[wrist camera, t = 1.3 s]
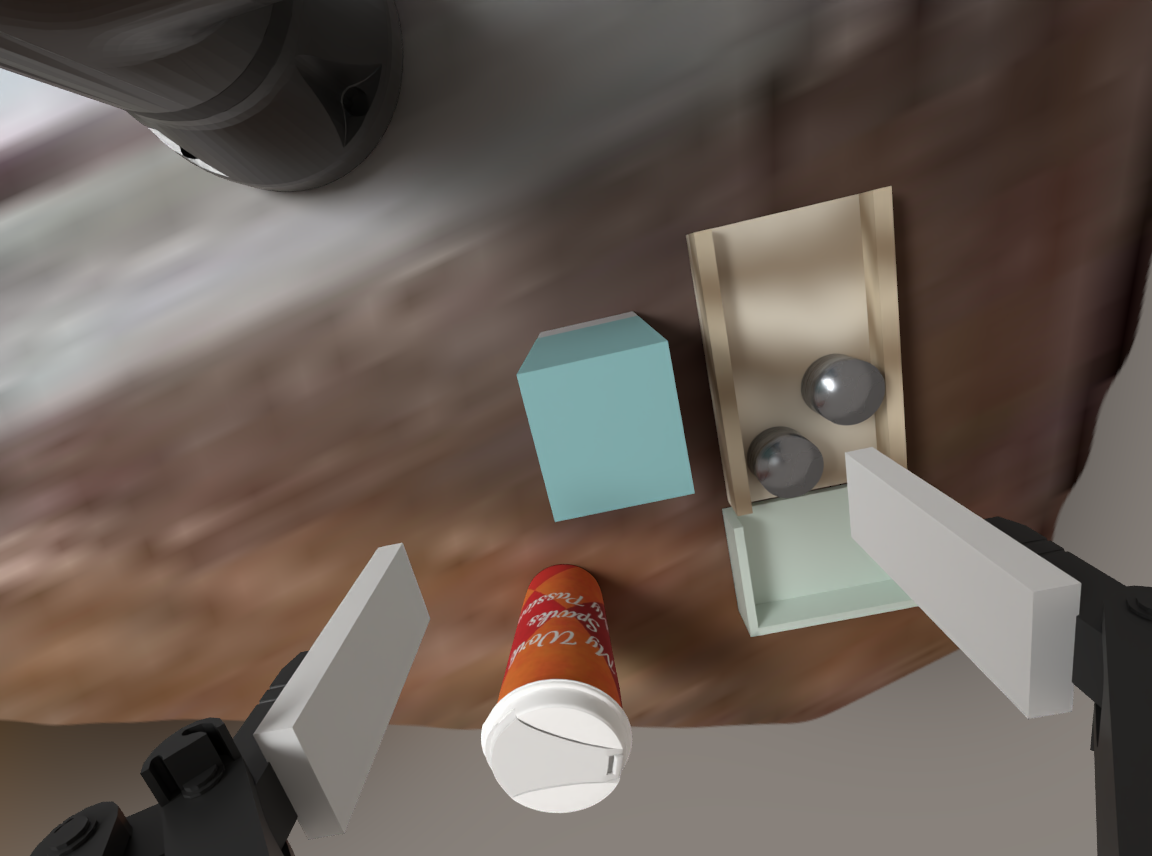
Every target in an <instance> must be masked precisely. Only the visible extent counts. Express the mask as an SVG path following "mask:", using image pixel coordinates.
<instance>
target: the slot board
mask: <svg viewBox="0 0 1152 856" xmlns="http://www.w3.org/2000/svg"><path fill="white" fill-rule="evenodd" d="M686 240H687V246H688V253H689V259H690V265H691V271H692V278H693V284H694V290H695V297H696V303H697V309H698V315H699V322H700V328H701V334H702V341H703V347H704V353H705V359H706V366H707V372H708V378H709V384H710V391H711V397H712V403H713V410H714V416H715V422H716V428H717V435H718V441H719V447H720V454H721V460H722V466H723V472H724V479H725V485H726V491H727V498H728V502H729V503H730V505H731V507H732V508H733V510H734V511H735V513H736V514H737V516H742V515H747V514H752V513H753V510H752V504H751V502H754V501H758V500H763V499H768V498H773V497H777V496H775V495H773V494H771V493H770V492H768V491H767V490H766V489H765V488H764V486H763V485H762V484H761V483H760V482H759V481H758V479H757V478H756V477H755V476H754V475H753V473H752V472H751V471H750V469H749V466H748V463H747V452H748V449H749V446H750V444H751V442H752V441H753V439H754V438H755V437H756V436H757V435H758V434H760V433H761V432H762V431H764V430H766V429H769V428H772V427H777V426H783V427H789V428H792V429H794V430H796V431H797V432H798V433H800V434H801V435H802V436H804V437H805V438H806V439H808V440H809V441H810V442H812V443H813V444H814V445H815V446H816V447H817V448H818V449H819V450H820V452H821V454H822V457H823V461H824V468H823V473H822V476H821V478H820V480H819V481H818V483H817V484H816V485H815V486H814V488H812V489H811V490H813V489H818V488H823V487H828V486H833V485H838V484H843V483H847V474H846V461H845V452H850V451H854V450H859V449H864V448H869V447H873V448H875V449H876V450H878V451H879V452H881V453H882V454H884V455H885V456H887V457H889V458H890V459H892V460H893V461H895V462H896V463H898V464H899V465H901V466H902V467H904V468H905V469H907V456H906V438H905V420H904V402H903V384H902V366H901V348H900V330H899V312H898V294H897V276H896V258H895V240H894V222H893V204H892V186H889V187H884V188H880V189H876V190H872V191H868V192H864V193H860V194H856V195H852V196H848V197H844V198H839V199H835V200H831V201H827V202H823V203H818V204H814V205H810V206H806V207H801V208H797V209H793V210H789V211H785V212H780V213H776V214H772V215H768V216H764V217H759V218H755V219H751V220H747V221H742V222H738V223H734V224H730V225H726V226H721V227H717V228H713V229H707V230H703V231H699V232H695V233H691V234H688V235H686ZM837 353H838V354H844V355H848V356H851V357H854V358H857V359H860V360H863V361H866V362H868V363H871V364H872V365H874V366H875V367H876V368H877V369H878V370H879V371H880V373H881V374H882V376H883V378H884V382H885V394H884V398H883V401H882V403H881V405H880V407H879V408H878V410H877V411H876V412H875V413H874V414H873V415H872V416H871V417H870V418H868V419H867V420H865V421H863V422H861V423H858V424H855V425H846V426H845V425H838V424H835V423H833V422H831V421H829V420H827V419H826V418H824V417H823V416H821V415H819V414H818V413H816V412H814V411H813V410H811V409H810V408H809V407H808V406H807V405H806V403H805V402H804V400H803V398H802V395H801V382H802V378H803V375H804V373H805V372H806V370H807V369H808V367H809V366H810V365H811V364H812V363H813V362H814V361H816V360H817V359H819V358H821V357H823V356H825V355H828V354H837Z"/></svg>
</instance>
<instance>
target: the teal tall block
mask: <svg viewBox="0 0 1152 856" xmlns="http://www.w3.org/2000/svg"><path fill="white" fill-rule="evenodd" d="M517 379H518V382H519V386H520V390H521V394H522V398H523V402H524V405H525V409H526V413H527V417H528V421H529V424H530V428H531V432H532V436H533V440H534V444H535V447H536V451H537V455H538V459H539V463H540V466H541V470H542V474H543V478H544V482H545V486H546V489H547V493H548V497H549V501H550V505H551V509H552V512H553V516H554V520H555V522H557V521H562V520H567V519H572V518H577V517H581V516H586V515H591V514H596V513H601V512H606V511H611V510H616V509H621V508H625V507H630V506H635V505H640V504H645V503H650V502H655V501H660V500H665V499H670V498H674V497H679V496H684V495H689V494H694V493H695V492H694V486H693V481H692V475H691V469H690V464H689V458H688V453H687V447H686V441H685V436H684V430H683V424H682V419H681V413H680V407H679V402H678V396H677V391H676V385H675V379H674V374H673V368H672V362H671V357H670V351H669V345H668V341H667V340H666V339H665V338H664V337H662V336H661V335H660V334H659V333H658V332H657V331H655V330H654V329H653V328H652V327H651V326H649V325H648V324H647V323H646V322H645V321H644V320H642V319H641V318H640V317H639V316H638V315H636V314H635V313H634V312H633V311H632V312H628V313H623V314H619V315H615V316H610V317H606V318H602V319H597V320H593V321H588V322H584V323H580V324H575V325H571V326H567V327H562V328H558V329H554V330H549V331H545V332H541V333H540V334H539V336H538V338H537V340H536V341H535V343H534V345H533V347H532V348H531V350H530V352H529V354H528V355H527V357H526V359H525V361H524V363H523V364H522V366H521V368H520V370H519V371H518V373H517Z"/></svg>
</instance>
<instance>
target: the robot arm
mask: <svg viewBox="0 0 1152 856" xmlns="http://www.w3.org/2000/svg"><path fill="white" fill-rule="evenodd" d="M0 68H2V69H5V70H8V71H11V72H14V73H17V74H20V75H23V76H26V77H28V78H31V79H34V80H37V81H40V82H43V83H46V84H49V85H52V86H55V87H58V88H61V89H64V90H67V91H70V92H73V93H76V94H79V95H82V96H85V97H88V98H91V99H94V100H96V101H99V102H102V103H105V104H109V105H112V106H114V107H117V108H120V109H123V110H125V111H127V112H128V113H129V114H130V115H131V116H133V117H134V118H135V119H136V120H137V121H139V122H140V123H141V124H143V125H144V126H147V127H148V128H149V129H150V130H151V131H152V132H153V133H154V134H155V135H156V136H157V137H158V138H159V139H160V140H162V141H163V142H164V143H165V144H166V145H167V146H169V147H170V148H171V149H172V150H174V151H175V152H176V153H178V154H179V155H180V156H182V157H183V158H185V159H186V160H188V161H189V162H191V163H193V164H194V165H196V166H198V167H200V168H202V169H204V170H206V171H207V172H209V173H212V174H214V175H216V176H218V177H221V178H224V179H227V180H229V181H233V182H236V183H240V184H244V185H248V186H252V187H256V188H261V189H266V190H273V191H300V190H307V189H312V188H316V187H319V186H323V185H325V184H328V183H330V182H333V181H335V180H337V179H339V178H341V177H342V176H344V175H345V174H347V173H349V172H350V171H351V170H353V169H354V168H355V167H356V166H358V165H359V164H360V163H361V162H362V161H363V160H364V159H365V158H366V157H367V156H368V155H369V154H370V153H371V151H372V150H373V149H374V148H375V146H376V145H377V144H378V142H379V141H380V139H381V138H382V136H383V134H384V132H385V131H386V129H387V127H388V125H389V122H390V120H391V118H392V115H393V113H394V110H395V107H396V103H397V100H398V96H399V91H400V86H401V79H402V68H403V48H402V36H401V29H400V23H399V18H398V14H397V9H396V6H395V2H394V0H0ZM845 461H846V474H847V487H848V500H849V513H850V526H851V537H852V538H853V539H854V540H855V541H856V542H857V543H858V544H859V545H860V546H861V547H862V548H863V549H864V550H865V552H866V553H867V554H868V555H869V556H870V557H871V558H872V559H873V560H874V561H875V562H876V563H877V564H878V565H879V566H880V567H881V568H882V569H883V570H884V571H885V572H886V573H887V574H888V575H889V576H890V577H891V578H892V579H893V580H894V581H895V582H896V583H897V584H898V585H899V586H900V587H901V589H902V590H903V591H904V592H905V593H906V594H907V595H908V596H909V597H910V598H911V599H912V600H913V601H914V602H915V603H916V604H917V605H918V606H919V607H920V608H921V609H922V610H923V611H924V612H925V613H926V614H927V615H928V616H929V617H930V618H931V619H932V620H933V621H934V622H935V623H936V624H937V625H938V627H939V628H940V629H941V630H942V631H943V632H944V633H945V634H946V635H947V636H948V637H949V638H950V639H951V640H952V641H953V642H954V643H955V644H956V645H957V646H958V647H959V648H960V649H961V650H962V651H963V652H964V653H965V654H966V655H967V656H968V657H969V658H970V659H971V660H972V661H973V662H974V663H975V664H976V666H977V667H978V668H979V669H980V670H981V671H982V672H983V673H984V674H985V675H986V676H987V677H988V678H989V679H990V680H991V681H992V682H993V683H994V684H995V685H996V686H997V687H998V688H999V689H1000V690H1001V691H1002V692H1003V693H1004V694H1005V695H1006V696H1007V697H1008V698H1009V699H1010V700H1011V701H1012V703H1014V705H1015V706H1016V707H1017V708H1018V709H1019V710H1020V711H1021V712H1022V713H1023V714H1024V715H1025V716H1026V717H1027V718H1028V719H1030V718H1036V717H1043V716H1049V715H1055V714H1061V713H1067V712H1072V705H1073V692H1074V685H1075V686H1077V687H1078V688H1079V689H1080V690H1081V691H1083V692H1084V693H1085V694H1086V695H1087V696H1088V697H1089V698H1091V699H1092V700H1093V701H1094V702H1095V703H1094V714H1093V725H1092V737H1091V749H1090V750H1092V751H1094V757H1095V790H1096V819H1097V820H1096V821H1097V852H1098V856H1152V587H1144V586H1127V587H1126V586H1125V585H1123V584H1121V583H1120V582H1118V581H1116V580H1115V579H1113V578H1111V577H1110V576H1108V575H1106V574H1105V573H1103V572H1101V571H1100V570H1098V569H1097V568H1095V567H1093V566H1092V565H1090V564H1088V563H1086V562H1085V561H1083V560H1082V559H1080V558H1078V557H1077V556H1075V555H1073V554H1072V553H1070V552H1065V551H1064V549H1063V548H1062V547H1060V546H1059V545H1057V544H1055V543H1054V542H1052V541H1047V538H1045V537H1044V536H1042V535H1040V534H1039V533H1037V532H1035V531H1034V530H1032V529H1030V528H1029V527H1027V526H1025V525H1022V524H1019V523H1016V522H1013V521H1010V520H1007V519H1004V518H1001V517H993V518H988V519H982V518H981V517H979V516H978V515H976V514H974V513H973V512H971V511H970V510H968V509H967V508H965V507H964V506H962V505H961V504H959V503H958V502H956V501H955V500H953V499H951V498H950V497H948V496H947V495H945V494H944V493H942V492H941V491H939V490H938V489H936V488H935V487H933V486H931V485H930V484H928V483H927V482H925V481H924V480H922V479H921V478H919V477H918V476H916V475H915V474H913V473H912V472H910V471H908V470H907V469H905V468H904V467H902V466H901V465H899V464H898V463H896V462H895V461H893V460H892V459H890V458H889V457H887V456H885V455H884V454H882V453H881V452H879V451H878V450H876V449H875V448H873V447H869V448H864V449H859V450H854V451H850V452H845ZM429 620H430V617H429V614H428V611H427V608H426V606H425V603H424V600H423V597H422V595H421V592H420V589H419V586H418V584H417V581H416V578H415V575H414V573H413V570H412V567H411V564H410V562H409V559H408V556H407V553H406V551H405V548H404V545H403V543H399V544H394V545H389V546H384V547H379V548H378V549H377V550H376V552H375V553H374V555H373V556H372V558H371V559H370V561H369V562H368V564H367V565H366V567H365V568H364V570H363V571H362V573H361V574H360V576H359V577H358V579H357V580H356V582H355V583H354V585H353V586H352V588H351V589H350V591H349V592H348V594H347V595H346V597H345V598H344V600H343V601H342V602H341V604H340V605H339V607H338V608H337V610H336V611H335V613H334V614H333V616H332V617H331V619H330V620H329V622H328V623H327V625H326V626H325V628H324V629H323V631H322V632H321V634H320V635H319V637H318V638H317V640H316V641H315V643H314V644H313V646H312V647H311V649H310V650H309V651H305V652H300V653H299V654H298V655H297V656H296V657H295V658H294V659H293V660H292V661H290V662H289V663H288V664H287V665H286V666H285V667H284V668H283V669H282V670H281V671H280V673H279V674H278V675H277V677H276V678H275V680H274V681H273V683H272V684H271V685H270V690H267V691H266V692H265V694H264V695H263V697H262V698H261V700H260V704H258V705H256V707H255V708H254V709H253V711H252V712H251V714H250V715H249V717H248V718H247V719H246V721H245V722H244V724H243V725H242V726H241V728H240V729H239V731H238V732H237V734H236V735H235V736H234V738H233V739H232V737H231V735H230V734H229V731H228V730H227V728H226V726H225V724H224V723H223V722H222V720H221V719H220V718H206V719H203V720H199V721H196V722H194V723H192V724H190V725H187V726H185V727H183V728H181V729H180V730H178V731H177V732H175V733H174V734H172V735H171V736H170V737H168V738H167V739H165V740H164V741H163V742H162V743H161V744H160V745H159V746H158V747H157V748H156V749H154V750H153V752H152V753H151V754H150V756H149V757H148V758H147V760H146V761H145V762H144V764H143V767H142V770H141V773H140V774H141V775H142V777H143V779H144V780H145V782H146V783H147V785H148V787H149V788H150V789H151V791H152V793H153V794H154V796H155V798H156V799H157V801H158V804H156V805H154V806H152V807H149V808H147V809H145V810H142V811H140V812H138V813H136V814H133V815H131V816H128V817H125V816H124V814H123V812H122V811H121V809H120V808H119V806H117V805H116V804H115V803H114V802H101V803H98V804H95V805H93V806H90V807H88V808H85V809H84V810H82V811H80V812H78V813H77V814H75V815H72V816H71V817H69V818H68V819H66V820H65V821H63V823H62V824H59V825H58V826H57V827H56V828H55V829H53V830H52V831H51V833H50V834H49V835H48V836H47V837H46V838H45V839H44V840H43V841H42V842H41V843H40V844H39V845H38V846H37V847H36V848H35V849H34V851H33V852H32V854H31V855H30V856H295V855H294V852H293V850H292V848H291V846H290V844H289V843H288V840H287V838H288V836H289V834H290V832H291V830H292V828H293V826H294V824H295V822H296V820H298V822H299V824H300V825H301V827H302V829H303V831H304V833H305V835H306V837H307V839H308V840H310V839H316V838H322V837H328V836H334V835H339V834H344V833H345V831H346V829H347V826H348V824H349V821H350V818H351V816H352V814H353V811H354V809H355V806H356V804H357V801H358V799H359V796H360V793H361V791H362V789H363V786H364V784H365V781H366V778H367V776H368V774H369V771H370V769H371V766H372V763H373V761H374V758H375V756H376V753H377V751H378V748H379V746H380V743H381V741H382V738H383V736H384V733H385V731H386V728H387V726H388V723H389V721H390V718H391V716H392V713H393V711H394V708H395V706H396V703H397V701H398V698H399V696H400V693H401V691H402V688H403V686H404V683H405V681H406V678H407V676H408V673H409V671H410V668H411V666H412V663H413V661H414V658H415V655H416V653H417V650H418V648H419V645H420V643H421V640H422V638H423V635H424V633H425V630H426V628H427V625H428V623H429Z"/></svg>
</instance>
